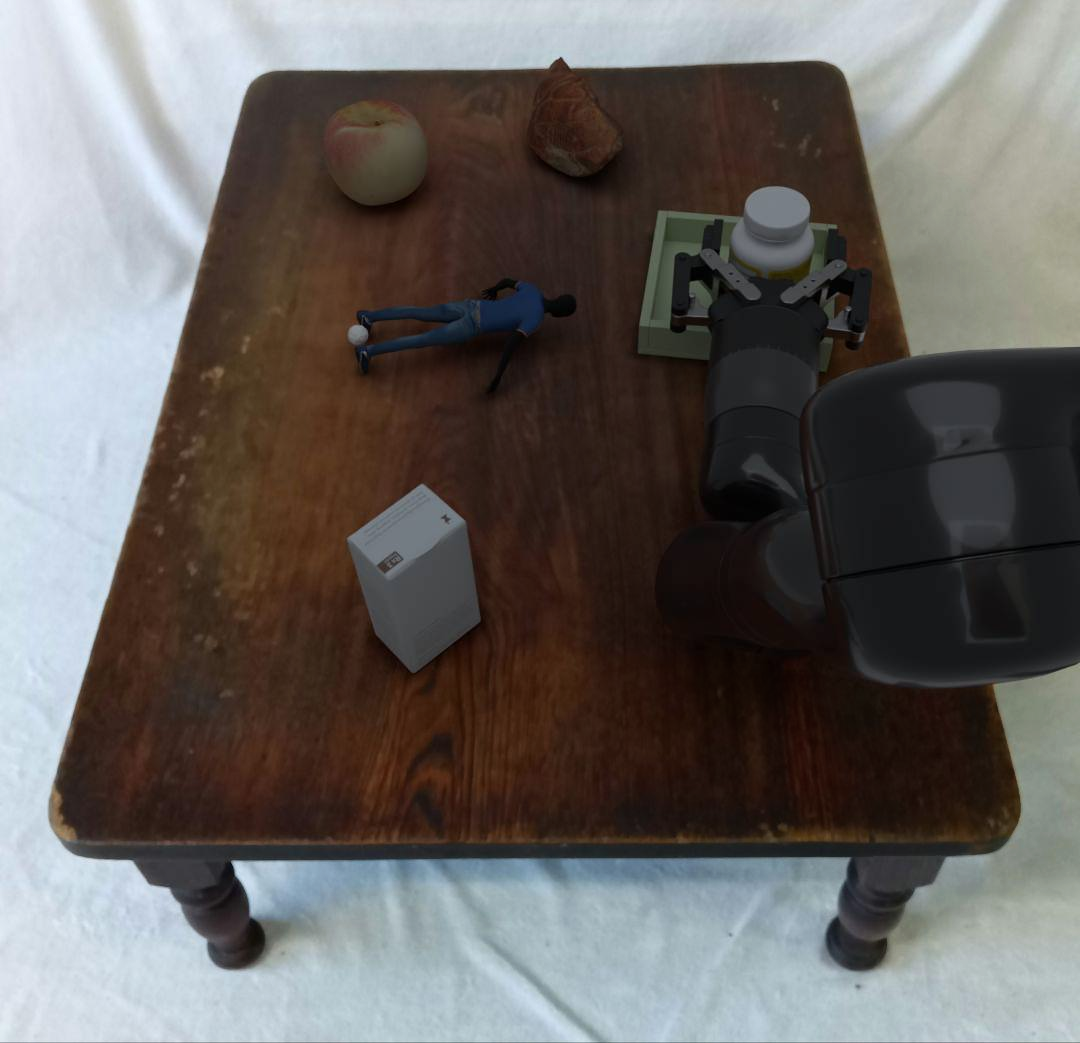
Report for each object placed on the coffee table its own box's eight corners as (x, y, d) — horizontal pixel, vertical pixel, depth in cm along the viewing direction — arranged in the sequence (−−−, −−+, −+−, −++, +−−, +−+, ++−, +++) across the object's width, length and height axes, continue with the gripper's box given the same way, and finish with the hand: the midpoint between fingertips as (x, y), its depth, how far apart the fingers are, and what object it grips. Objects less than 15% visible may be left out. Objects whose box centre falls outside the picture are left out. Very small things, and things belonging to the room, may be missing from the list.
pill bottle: (805, 297, 96) (827, 185, 87) (793, 351, 92) (815, 240, 83) (728, 285, 97) (742, 173, 88) (714, 338, 93) (727, 227, 84)
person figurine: (358, 419, 93) (587, 383, 91) (340, 380, 89) (578, 342, 87) (364, 319, 99) (577, 283, 97) (347, 279, 95) (569, 241, 93)
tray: (830, 253, 100) (837, 224, 97) (826, 372, 92) (833, 343, 89) (656, 238, 101) (658, 209, 99) (637, 353, 94) (638, 325, 91)
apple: (315, 190, 107) (298, 112, 100) (395, 148, 110) (383, 70, 103) (372, 238, 103) (357, 160, 96) (453, 192, 106) (444, 115, 99)
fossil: (522, 68, 111) (569, 6, 102) (601, 97, 114) (654, 39, 105) (508, 190, 107) (556, 137, 99) (591, 216, 111) (644, 167, 102)
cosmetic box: (442, 584, 81) (422, 474, 72) (485, 625, 79) (470, 517, 70) (371, 638, 79) (340, 532, 69) (413, 682, 77) (388, 579, 67)
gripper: (879, 362, 77) (879, 199, 86) (659, 341, 79) (683, 184, 88) (858, 437, 83) (861, 277, 92) (654, 416, 85) (677, 262, 94)
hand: (774, 232), depth 90 cm, fingers open, 8 cm apart
